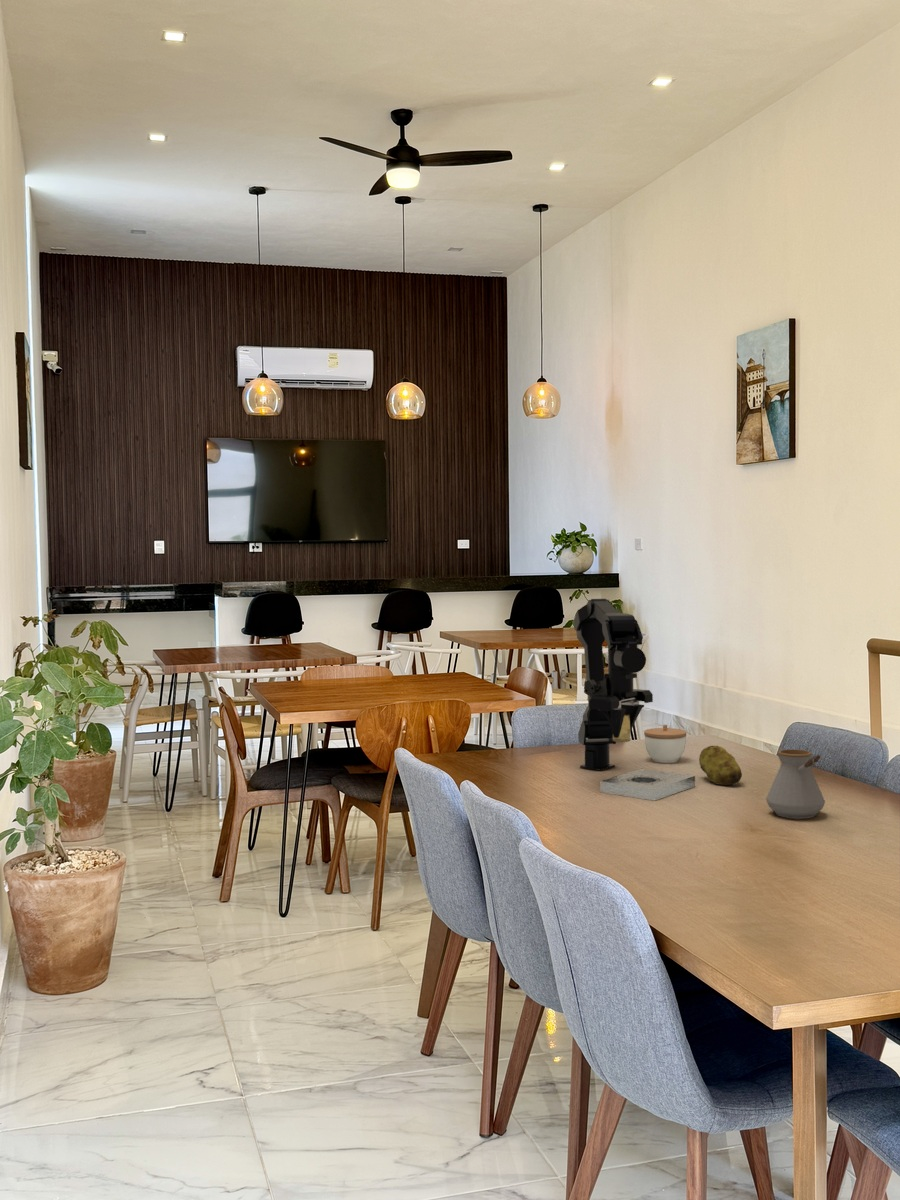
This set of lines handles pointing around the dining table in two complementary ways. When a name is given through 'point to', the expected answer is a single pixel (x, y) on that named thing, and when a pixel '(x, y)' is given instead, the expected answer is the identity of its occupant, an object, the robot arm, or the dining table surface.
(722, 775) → the potato
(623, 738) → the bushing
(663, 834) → the dining table surface
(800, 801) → the coffee pot
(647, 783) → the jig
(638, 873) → the dining table surface
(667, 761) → the lidded jar
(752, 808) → the dining table surface
